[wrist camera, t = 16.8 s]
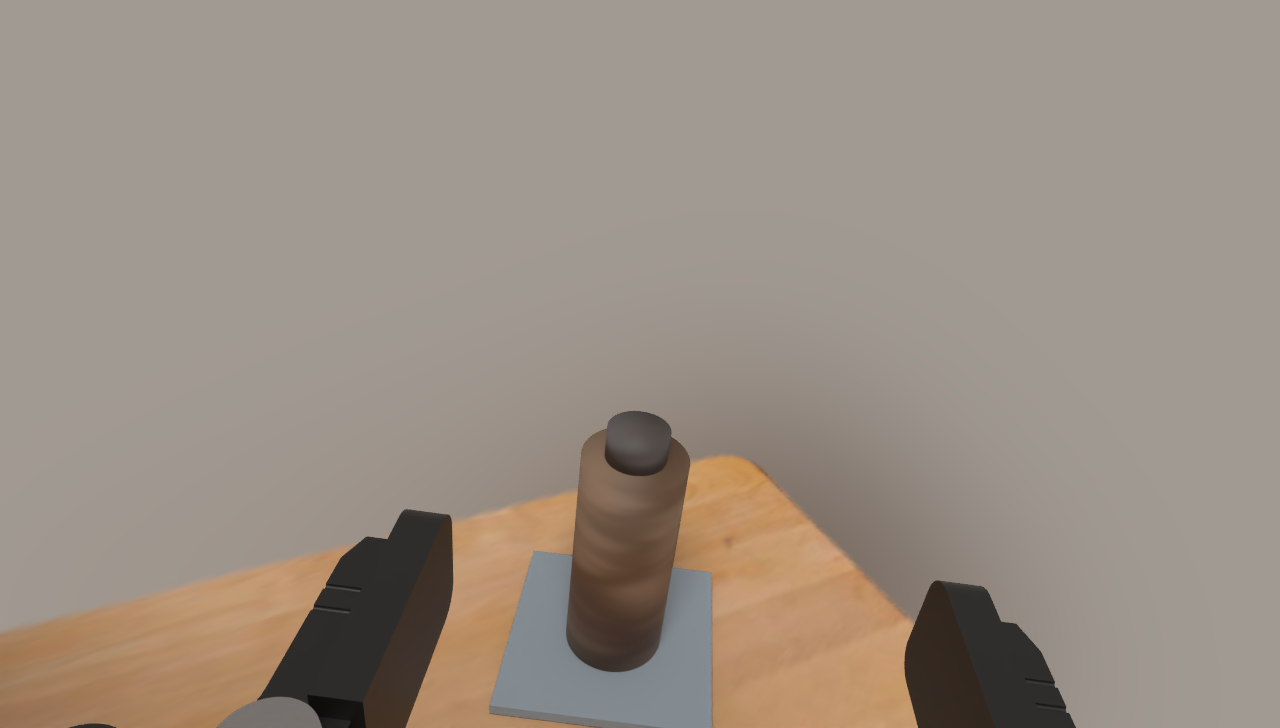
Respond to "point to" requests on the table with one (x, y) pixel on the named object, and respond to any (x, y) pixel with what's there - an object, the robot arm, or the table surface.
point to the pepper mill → (625, 540)
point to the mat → (614, 701)
